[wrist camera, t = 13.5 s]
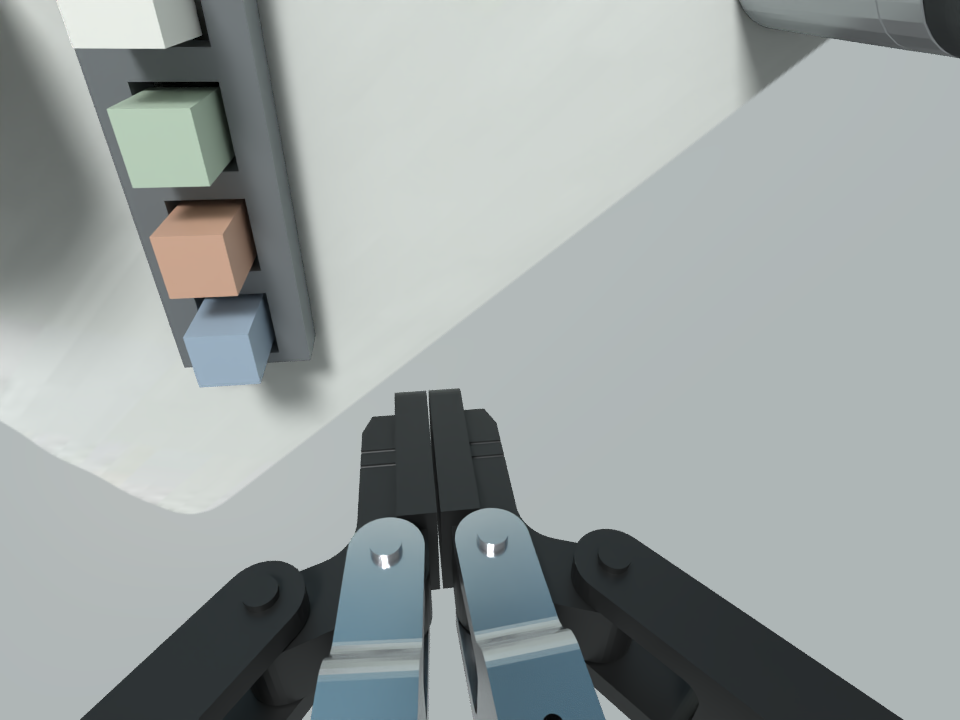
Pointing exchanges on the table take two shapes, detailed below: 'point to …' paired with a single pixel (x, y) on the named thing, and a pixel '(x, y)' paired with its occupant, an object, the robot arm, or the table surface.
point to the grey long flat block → (247, 176)
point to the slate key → (230, 340)
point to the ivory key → (129, 23)
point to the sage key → (173, 136)
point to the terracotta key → (205, 248)
